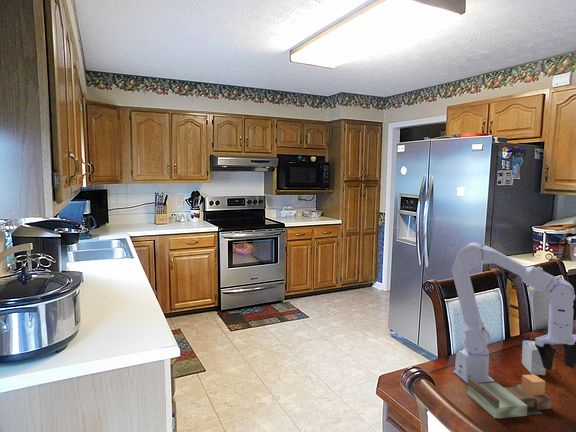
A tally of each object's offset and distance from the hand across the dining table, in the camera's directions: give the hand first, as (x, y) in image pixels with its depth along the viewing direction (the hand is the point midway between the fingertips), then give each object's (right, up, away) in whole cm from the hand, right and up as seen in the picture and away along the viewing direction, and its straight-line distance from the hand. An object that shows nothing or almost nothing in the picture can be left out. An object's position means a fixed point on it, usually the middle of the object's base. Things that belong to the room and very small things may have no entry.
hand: (558, 367), depth 109 cm
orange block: (-8, -7, -1) cm, 10 cm away
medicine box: (+5, -8, +18) cm, 21 cm away
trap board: (-15, -10, -2) cm, 18 cm away
